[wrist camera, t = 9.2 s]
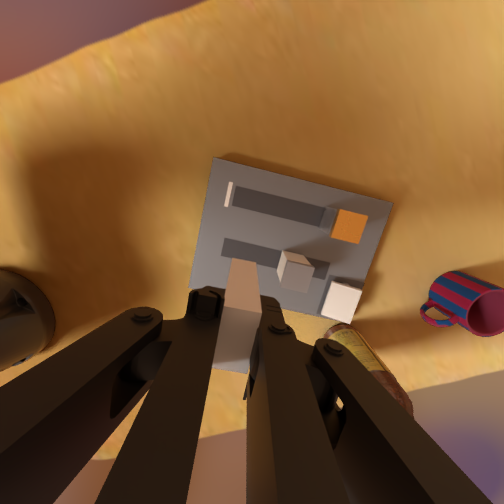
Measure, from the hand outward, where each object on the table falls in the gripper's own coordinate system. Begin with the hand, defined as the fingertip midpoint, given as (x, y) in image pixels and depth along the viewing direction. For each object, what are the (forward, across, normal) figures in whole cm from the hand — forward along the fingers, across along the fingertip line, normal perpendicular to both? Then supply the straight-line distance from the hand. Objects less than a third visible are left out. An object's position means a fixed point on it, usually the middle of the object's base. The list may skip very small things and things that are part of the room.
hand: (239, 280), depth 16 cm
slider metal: (+18, +11, +4) cm, 21 cm away
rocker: (+18, +16, -7) cm, 25 cm away
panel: (+20, +6, -1) cm, 21 cm away
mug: (+20, +31, -4) cm, 37 cm away
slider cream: (+18, +7, -3) cm, 20 cm away
